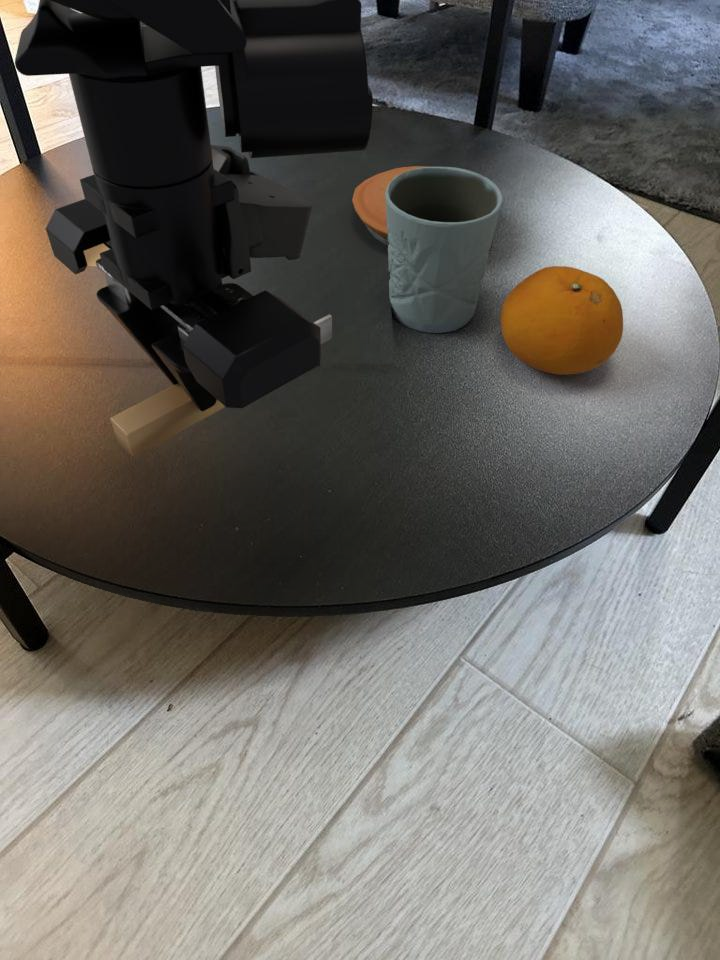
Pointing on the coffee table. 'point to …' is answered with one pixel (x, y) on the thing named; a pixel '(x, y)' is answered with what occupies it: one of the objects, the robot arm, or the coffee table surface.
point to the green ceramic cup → (439, 244)
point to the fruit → (562, 320)
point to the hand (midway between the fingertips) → (196, 397)
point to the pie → (376, 201)
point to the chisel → (170, 412)
